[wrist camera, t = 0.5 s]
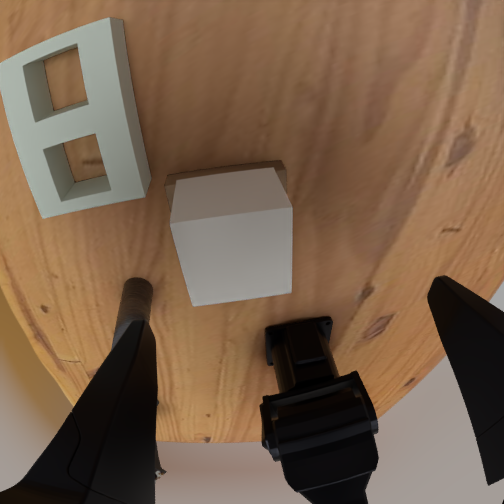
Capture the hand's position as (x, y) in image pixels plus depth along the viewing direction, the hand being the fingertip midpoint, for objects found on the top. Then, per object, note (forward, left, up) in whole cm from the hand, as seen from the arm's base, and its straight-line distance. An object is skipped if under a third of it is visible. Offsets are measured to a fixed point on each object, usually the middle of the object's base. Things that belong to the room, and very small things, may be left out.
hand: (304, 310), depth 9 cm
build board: (+4, +10, -12) cm, 16 cm away
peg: (-10, +10, -12) cm, 18 cm away
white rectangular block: (-3, +2, -11) cm, 11 cm away
